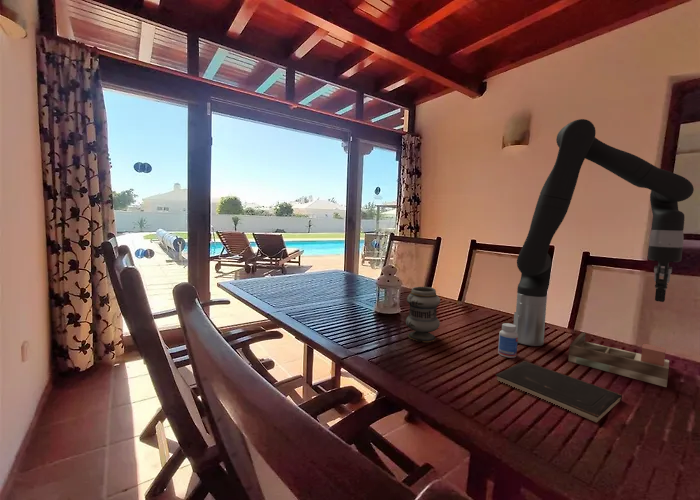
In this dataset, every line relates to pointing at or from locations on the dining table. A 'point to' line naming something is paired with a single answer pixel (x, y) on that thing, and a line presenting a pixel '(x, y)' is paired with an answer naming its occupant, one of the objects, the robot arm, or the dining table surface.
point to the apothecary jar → (422, 313)
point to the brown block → (653, 354)
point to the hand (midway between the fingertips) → (659, 301)
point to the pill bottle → (508, 341)
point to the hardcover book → (561, 390)
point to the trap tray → (617, 361)
